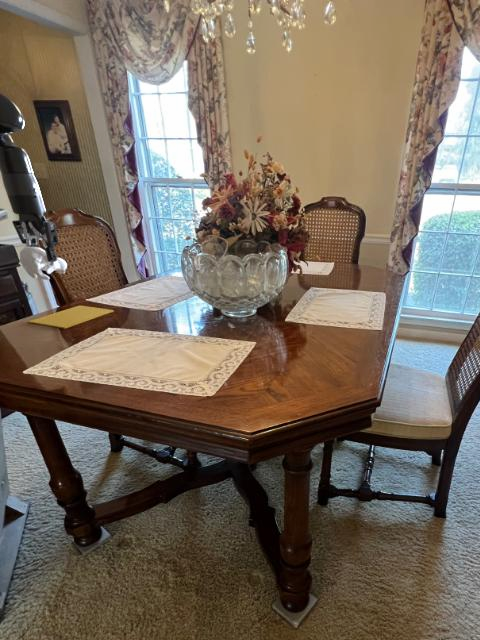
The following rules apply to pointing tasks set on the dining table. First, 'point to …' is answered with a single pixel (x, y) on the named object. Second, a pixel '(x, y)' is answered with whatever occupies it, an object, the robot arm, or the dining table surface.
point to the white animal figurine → (40, 263)
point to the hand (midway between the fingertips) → (45, 260)
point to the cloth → (71, 316)
